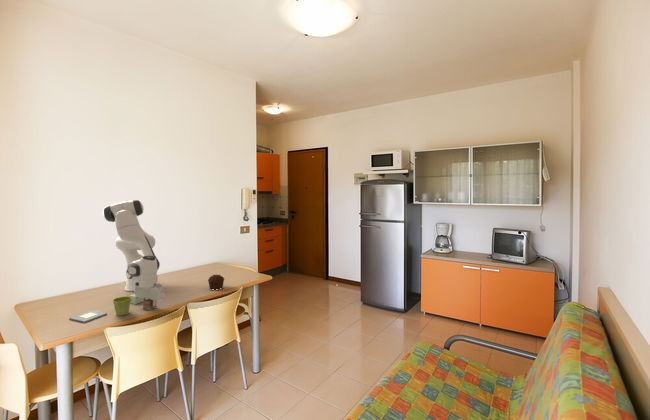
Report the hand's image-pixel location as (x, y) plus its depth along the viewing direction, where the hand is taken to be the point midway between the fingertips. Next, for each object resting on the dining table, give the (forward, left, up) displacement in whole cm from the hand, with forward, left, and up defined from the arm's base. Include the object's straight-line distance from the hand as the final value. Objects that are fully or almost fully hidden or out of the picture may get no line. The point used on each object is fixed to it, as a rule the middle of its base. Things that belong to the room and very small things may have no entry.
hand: (149, 305), depth 187 cm
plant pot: (+12, -7, -2) cm, 14 cm away
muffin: (-46, +12, -2) cm, 47 cm away
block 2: (0, 0, -2) cm, 2 cm away
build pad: (+22, -20, -2) cm, 30 cm away
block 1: (-4, -16, -2) cm, 16 cm away
